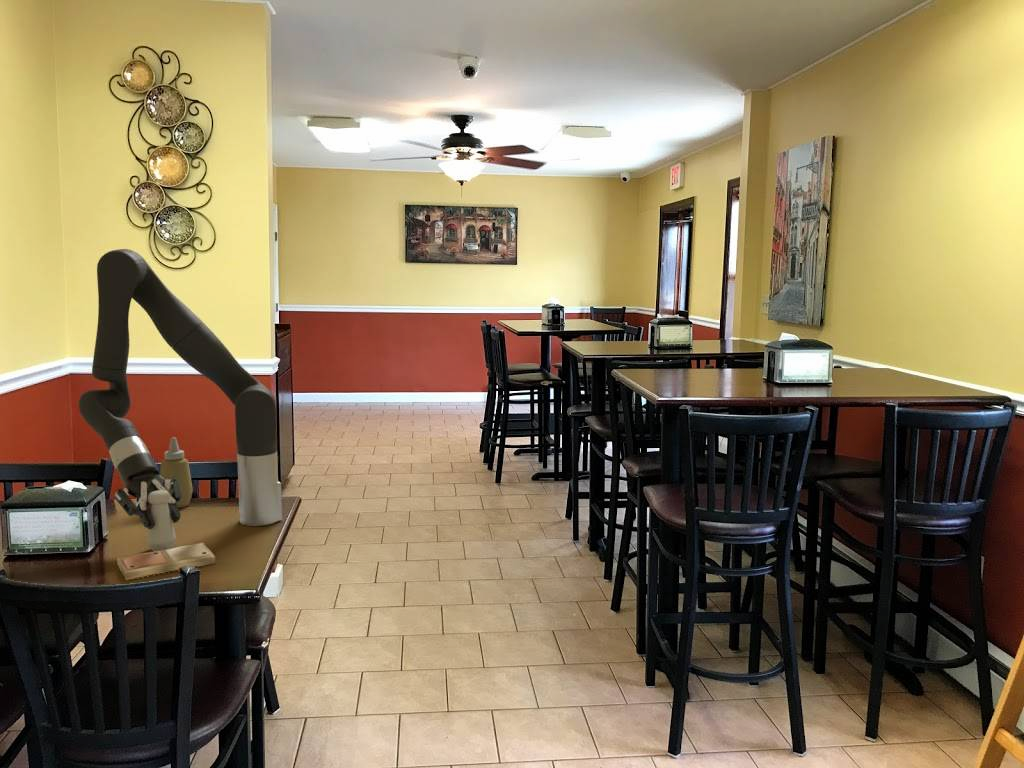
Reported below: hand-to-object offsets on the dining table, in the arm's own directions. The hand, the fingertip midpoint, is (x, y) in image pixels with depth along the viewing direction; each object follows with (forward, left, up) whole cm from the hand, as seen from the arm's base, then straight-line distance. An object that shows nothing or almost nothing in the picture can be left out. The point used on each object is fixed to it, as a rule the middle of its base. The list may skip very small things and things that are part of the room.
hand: (164, 523), depth 169 cm
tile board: (+2, +8, -6) cm, 10 cm away
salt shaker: (+1, -2, -6) cm, 7 cm away
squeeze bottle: (-9, -34, -6) cm, 36 cm away
